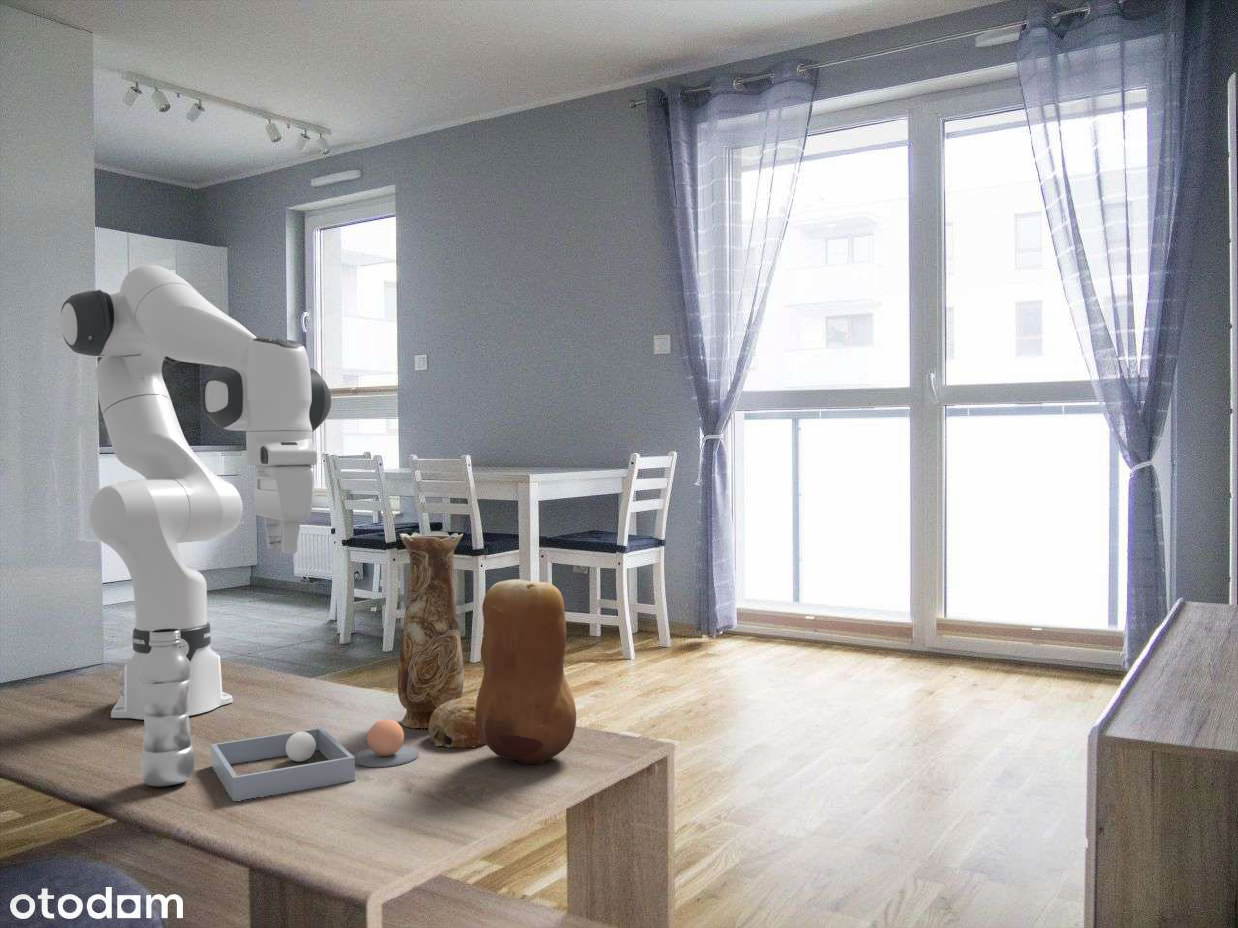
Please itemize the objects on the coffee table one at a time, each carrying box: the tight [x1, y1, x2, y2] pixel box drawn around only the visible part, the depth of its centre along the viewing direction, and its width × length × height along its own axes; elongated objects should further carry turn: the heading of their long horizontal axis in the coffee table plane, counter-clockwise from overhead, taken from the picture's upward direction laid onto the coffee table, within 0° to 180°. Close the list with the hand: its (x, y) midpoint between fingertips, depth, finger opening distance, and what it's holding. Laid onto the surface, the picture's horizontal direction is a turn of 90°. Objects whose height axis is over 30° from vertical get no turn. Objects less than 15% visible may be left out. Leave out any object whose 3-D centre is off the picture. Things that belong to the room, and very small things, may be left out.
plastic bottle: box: [138, 628, 196, 787], centre depth 129 cm, size 6×7×20 cm
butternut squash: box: [475, 578, 577, 766], centre depth 137 cm, size 14×13×25 cm
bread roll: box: [427, 696, 486, 748], centre depth 147 cm, size 10×10×8 cm
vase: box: [397, 530, 464, 730], centre depth 157 cm, size 10×11×30 cm
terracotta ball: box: [366, 718, 405, 756], centre depth 139 cm, size 5×5×5 cm
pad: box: [353, 745, 420, 768], centre depth 139 cm, size 9×9×1 cm
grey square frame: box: [210, 727, 356, 802], centre depth 132 cm, size 17×15×3 cm
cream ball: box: [286, 732, 316, 763], centre depth 138 cm, size 4×4×4 cm
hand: (281, 550), depth 139 cm, fingers open, 8 cm apart
